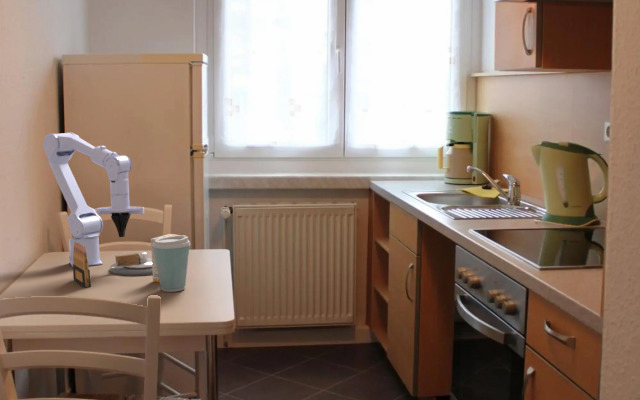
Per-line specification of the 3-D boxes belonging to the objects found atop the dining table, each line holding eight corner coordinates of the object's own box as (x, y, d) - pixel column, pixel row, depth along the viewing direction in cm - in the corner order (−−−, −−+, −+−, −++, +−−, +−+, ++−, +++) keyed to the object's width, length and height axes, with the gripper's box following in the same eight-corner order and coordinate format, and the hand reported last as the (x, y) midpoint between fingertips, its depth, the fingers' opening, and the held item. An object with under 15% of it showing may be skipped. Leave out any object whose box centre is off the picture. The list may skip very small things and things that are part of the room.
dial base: (115, 278, 232) (115, 274, 231) (106, 265, 250) (106, 261, 250) (181, 271, 239) (181, 267, 239) (167, 259, 258) (167, 255, 257)
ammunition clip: (73, 280, 230) (71, 241, 228) (79, 279, 231) (77, 240, 229) (84, 288, 221) (82, 247, 219) (90, 287, 222) (88, 246, 220)
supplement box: (170, 275, 235) (169, 233, 233) (182, 277, 232) (181, 234, 230) (151, 281, 228) (150, 238, 226) (164, 283, 225) (162, 239, 223)
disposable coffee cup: (155, 295, 212) (153, 242, 210) (152, 286, 222) (150, 235, 220) (194, 292, 215) (192, 239, 213) (189, 283, 225) (187, 232, 223)
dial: (152, 258, 253) (152, 246, 252) (168, 265, 243) (167, 252, 242) (110, 264, 244) (109, 252, 244) (124, 271, 235) (123, 259, 234)
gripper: (145, 192, 246) (147, 233, 248) (99, 192, 246) (102, 234, 248) (141, 195, 239) (143, 237, 241) (94, 195, 239) (96, 238, 241)
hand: (121, 236), depth 244 cm, fingers closed
